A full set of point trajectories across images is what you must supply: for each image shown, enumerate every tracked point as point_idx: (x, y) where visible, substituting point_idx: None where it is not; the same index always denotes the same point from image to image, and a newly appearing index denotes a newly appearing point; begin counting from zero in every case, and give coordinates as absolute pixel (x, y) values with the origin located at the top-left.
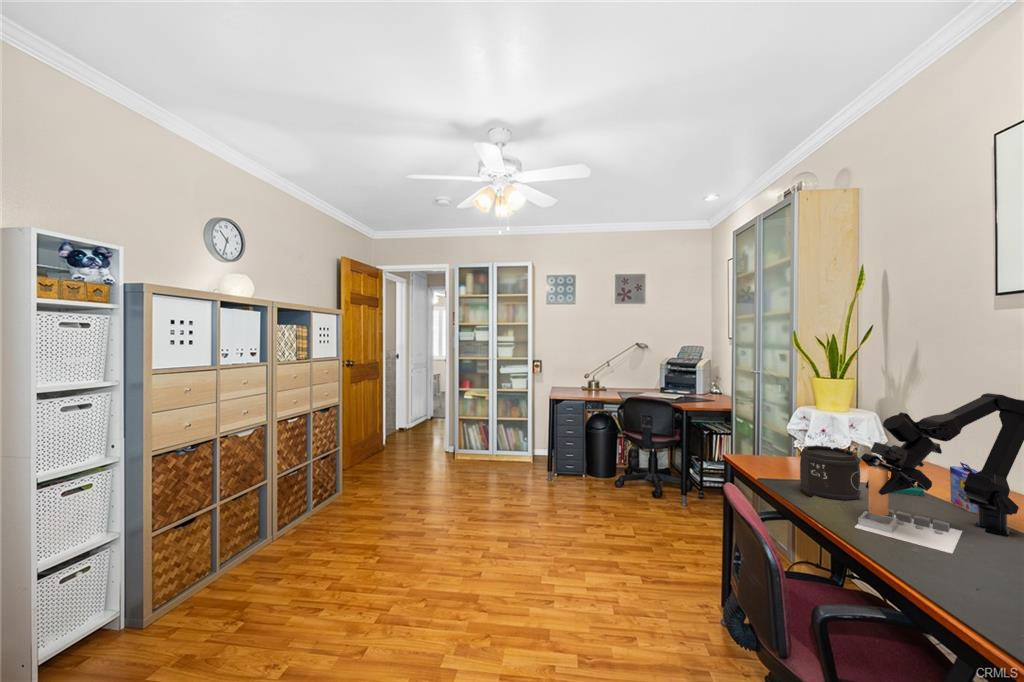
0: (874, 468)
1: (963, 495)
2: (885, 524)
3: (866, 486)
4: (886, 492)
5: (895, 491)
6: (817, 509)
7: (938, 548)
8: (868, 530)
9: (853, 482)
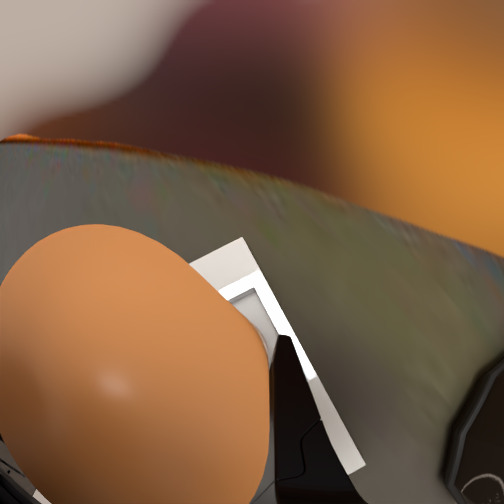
0: (82, 310)
1: None
2: None
3: (281, 335)
4: None
5: None
6: (433, 286)
7: None
8: (207, 262)
9: (483, 483)
